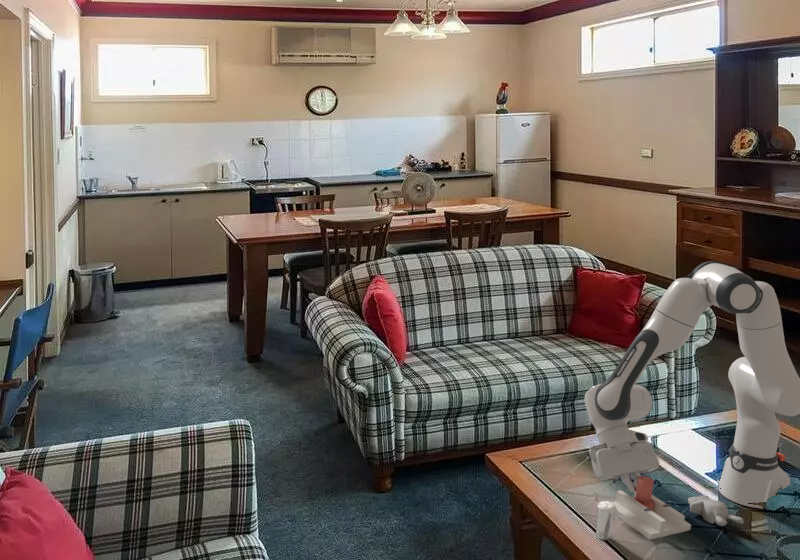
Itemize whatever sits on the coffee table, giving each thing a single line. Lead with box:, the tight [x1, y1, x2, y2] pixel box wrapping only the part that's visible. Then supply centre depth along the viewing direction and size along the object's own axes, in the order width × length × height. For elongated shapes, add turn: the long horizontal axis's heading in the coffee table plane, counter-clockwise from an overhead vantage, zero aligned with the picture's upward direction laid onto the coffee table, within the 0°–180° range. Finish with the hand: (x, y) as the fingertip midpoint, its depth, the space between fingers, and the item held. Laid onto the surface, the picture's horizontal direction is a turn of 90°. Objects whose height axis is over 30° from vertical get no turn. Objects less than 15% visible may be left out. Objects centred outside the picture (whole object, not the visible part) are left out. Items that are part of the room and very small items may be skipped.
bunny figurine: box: [687, 495, 745, 527], centre depth 198 cm, size 10×5×15 cm
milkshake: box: [595, 496, 617, 541], centre depth 185 cm, size 5×5×10 cm
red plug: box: [633, 475, 655, 511], centre depth 197 cm, size 4×4×8 cm
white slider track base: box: [610, 490, 692, 540], centre depth 196 cm, size 14×16×5 cm
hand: (636, 491), depth 200 cm, fingers closed, pressing on red plug
